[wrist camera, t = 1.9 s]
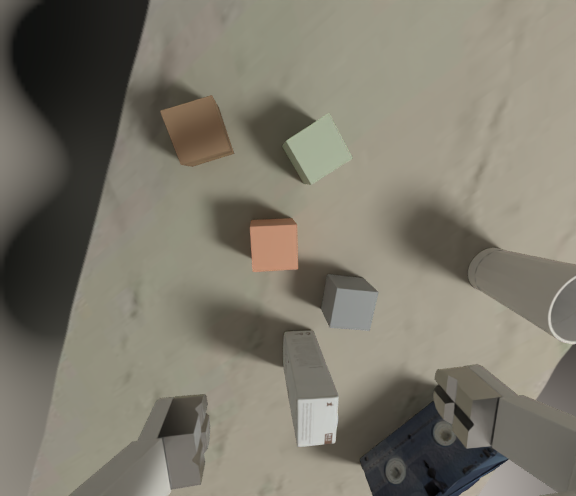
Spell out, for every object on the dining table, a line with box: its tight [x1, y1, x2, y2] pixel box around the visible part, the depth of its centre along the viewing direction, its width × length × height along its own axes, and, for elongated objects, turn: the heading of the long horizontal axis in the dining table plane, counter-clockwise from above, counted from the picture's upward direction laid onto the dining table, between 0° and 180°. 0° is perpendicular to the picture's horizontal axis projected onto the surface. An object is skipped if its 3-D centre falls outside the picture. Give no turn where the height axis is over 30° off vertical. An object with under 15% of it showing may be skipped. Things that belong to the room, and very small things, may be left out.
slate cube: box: [321, 274, 378, 331], centre depth 36 cm, size 5×5×5 cm
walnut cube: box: [160, 95, 234, 167], centre depth 29 cm, size 5×5×5 cm
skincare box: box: [283, 331, 339, 447], centre depth 34 cm, size 6×4×12 cm
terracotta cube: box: [250, 218, 298, 272], centre depth 33 cm, size 5×5×5 cm
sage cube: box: [282, 113, 353, 185], centre depth 31 cm, size 5×5×5 cm
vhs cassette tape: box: [360, 401, 508, 496], centre depth 40 cm, size 18×3×10 cm, turn 130°
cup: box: [468, 248, 576, 344], centre depth 34 cm, size 8×8×12 cm
